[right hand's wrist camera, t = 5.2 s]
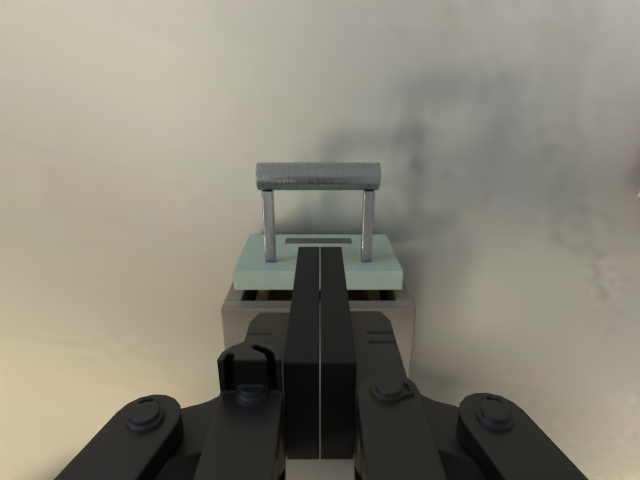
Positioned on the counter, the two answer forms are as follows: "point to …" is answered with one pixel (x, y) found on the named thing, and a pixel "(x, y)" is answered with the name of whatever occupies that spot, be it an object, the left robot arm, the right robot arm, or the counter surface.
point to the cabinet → (240, 308)
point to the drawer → (317, 235)
